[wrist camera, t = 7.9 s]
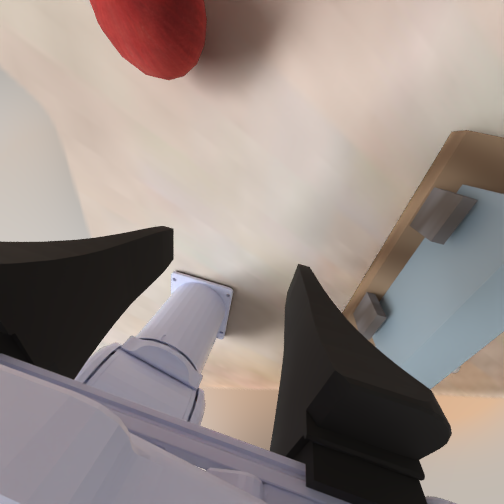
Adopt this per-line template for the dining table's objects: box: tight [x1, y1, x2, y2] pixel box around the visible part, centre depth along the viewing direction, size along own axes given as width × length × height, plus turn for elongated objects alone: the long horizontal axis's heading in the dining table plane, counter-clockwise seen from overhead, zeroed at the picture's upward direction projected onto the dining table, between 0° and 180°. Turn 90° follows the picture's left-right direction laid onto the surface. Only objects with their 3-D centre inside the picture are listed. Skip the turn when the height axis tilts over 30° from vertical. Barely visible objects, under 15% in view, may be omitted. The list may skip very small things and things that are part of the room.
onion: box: [90, 0, 207, 80], centre depth 11 cm, size 6×6×8 cm
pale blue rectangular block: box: [372, 184, 504, 389], centre depth 15 cm, size 14×4×6 cm, turn 169°
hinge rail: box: [342, 130, 504, 346], centre depth 17 cm, size 20×6×4 cm, turn 169°
